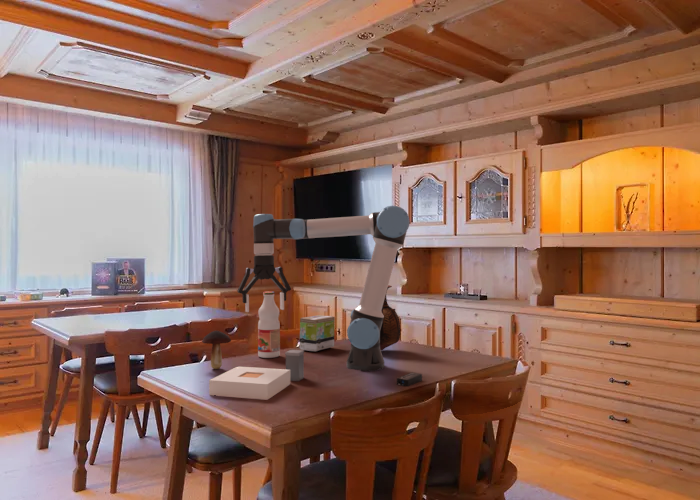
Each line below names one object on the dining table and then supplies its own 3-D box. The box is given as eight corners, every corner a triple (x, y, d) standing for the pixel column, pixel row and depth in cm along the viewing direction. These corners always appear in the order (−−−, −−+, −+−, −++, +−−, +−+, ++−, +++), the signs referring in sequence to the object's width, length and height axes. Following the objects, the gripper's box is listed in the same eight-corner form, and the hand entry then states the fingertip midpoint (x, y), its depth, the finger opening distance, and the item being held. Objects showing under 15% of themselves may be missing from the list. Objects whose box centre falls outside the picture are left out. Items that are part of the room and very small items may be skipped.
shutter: (264, 377, 180) (264, 374, 180) (256, 382, 174) (256, 379, 174) (246, 376, 181) (246, 373, 181) (238, 380, 175) (238, 377, 175)
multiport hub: (422, 380, 191) (422, 373, 191) (407, 386, 182) (407, 380, 182) (411, 378, 194) (411, 372, 194) (396, 384, 185) (396, 378, 185)
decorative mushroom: (205, 366, 212) (205, 328, 212) (233, 365, 213) (233, 328, 213) (199, 372, 202) (198, 333, 201) (228, 372, 202) (228, 332, 202)
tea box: (316, 352, 240) (316, 319, 240) (299, 349, 246) (299, 317, 246) (335, 346, 253) (335, 315, 253) (317, 344, 258) (317, 314, 258)
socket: (290, 384, 185) (290, 369, 185) (267, 400, 165) (267, 384, 165) (237, 380, 190) (237, 366, 190) (209, 395, 170) (209, 380, 170)
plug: (304, 377, 194) (303, 350, 194) (299, 381, 189) (299, 353, 188) (290, 376, 195) (290, 349, 195) (285, 380, 190) (285, 352, 190)
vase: (377, 344, 258) (377, 282, 258) (409, 348, 247) (409, 284, 247) (351, 351, 240) (351, 285, 240) (385, 356, 230) (385, 287, 230)
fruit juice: (281, 357, 229) (281, 292, 228) (259, 358, 226) (258, 293, 226) (278, 353, 238) (278, 290, 237) (257, 354, 235) (257, 291, 235)
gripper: (292, 254, 211) (293, 307, 211) (228, 255, 200) (229, 311, 200) (298, 254, 204) (299, 309, 204) (233, 255, 193) (234, 313, 194)
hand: (264, 310), depth 202 cm, fingers open, 13 cm apart
